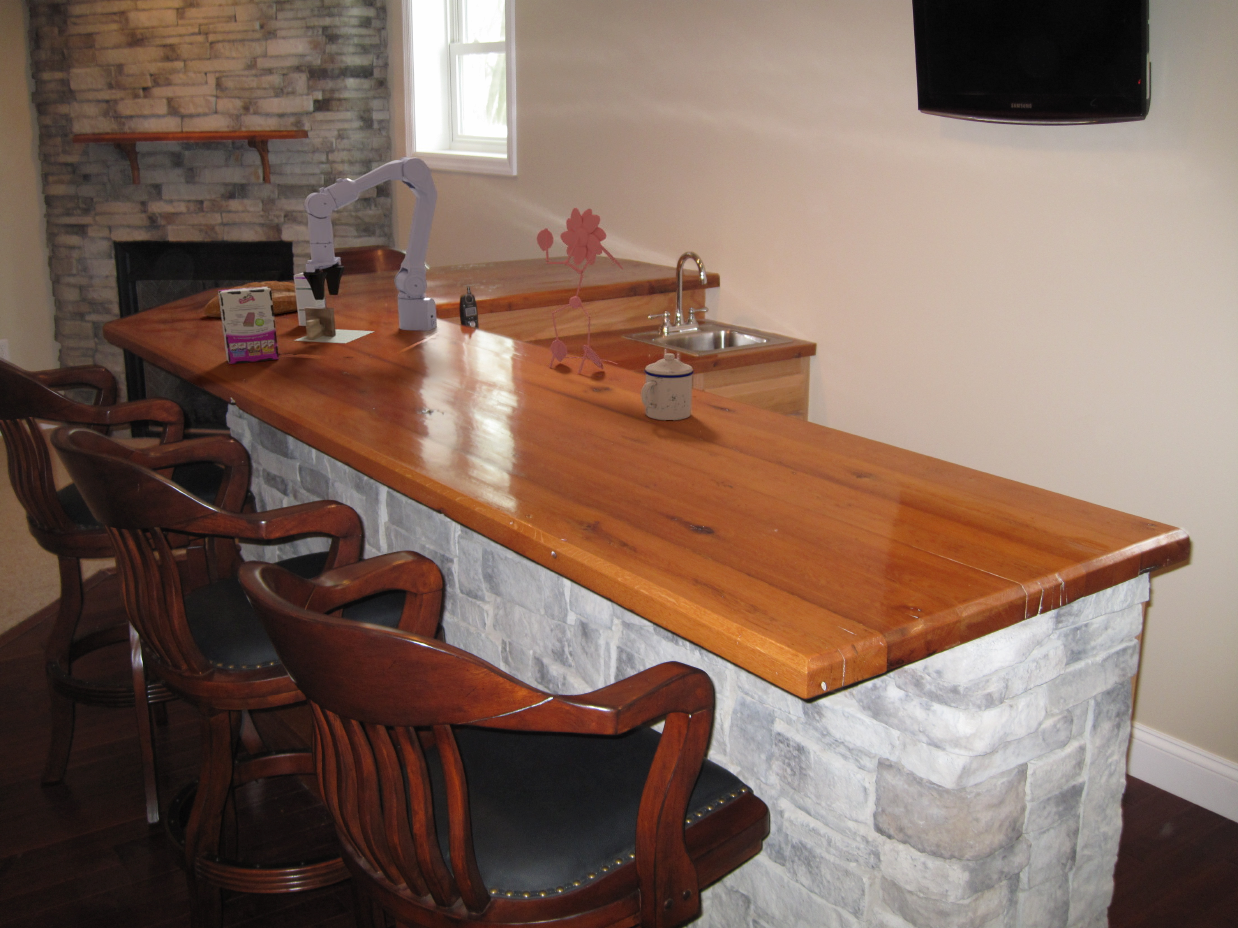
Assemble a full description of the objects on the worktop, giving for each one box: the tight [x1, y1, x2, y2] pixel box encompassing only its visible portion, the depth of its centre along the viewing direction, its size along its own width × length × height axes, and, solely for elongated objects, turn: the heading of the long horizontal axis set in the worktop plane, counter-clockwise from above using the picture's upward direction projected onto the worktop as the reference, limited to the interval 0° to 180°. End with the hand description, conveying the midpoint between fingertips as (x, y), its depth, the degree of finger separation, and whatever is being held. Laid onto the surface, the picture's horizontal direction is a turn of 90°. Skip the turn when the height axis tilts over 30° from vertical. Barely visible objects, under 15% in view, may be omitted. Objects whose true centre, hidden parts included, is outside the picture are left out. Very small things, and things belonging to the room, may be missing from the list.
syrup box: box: [293, 272, 328, 327], centre depth 272 cm, size 6×6×14 cm
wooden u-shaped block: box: [305, 319, 325, 340], centre depth 258 cm, size 1×12×5 cm, turn 167°
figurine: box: [536, 207, 624, 378], centre depth 226 cm, size 15×26×35 cm, turn 49°
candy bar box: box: [217, 287, 280, 365], centre depth 232 cm, size 11×5×16 cm, turn 118°
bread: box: [203, 280, 298, 319], centre depth 295 cm, size 18×35×9 cm, turn 134°
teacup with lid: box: [640, 352, 694, 421], centre depth 188 cm, size 12×9×12 cm
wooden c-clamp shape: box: [305, 307, 336, 337], centre depth 258 cm, size 7×2×7 cm, turn 78°
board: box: [293, 328, 375, 344], centre depth 258 cm, size 14×16×1 cm
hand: (326, 297), depth 257 cm, fingers open, 7 cm apart
